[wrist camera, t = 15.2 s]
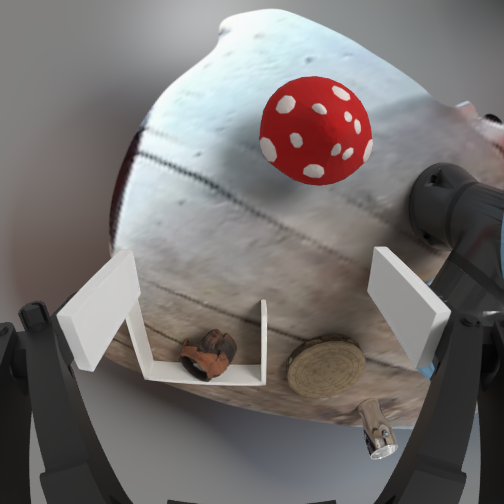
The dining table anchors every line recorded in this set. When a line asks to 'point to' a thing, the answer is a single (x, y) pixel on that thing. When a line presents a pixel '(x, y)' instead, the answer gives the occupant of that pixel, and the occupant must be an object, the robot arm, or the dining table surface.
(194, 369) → the pottery mug
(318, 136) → the decorative mushroom
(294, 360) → the wood slice
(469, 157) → the dining table surface
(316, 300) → the dining table surface
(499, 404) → the robot arm
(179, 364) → the bin
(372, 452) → the beer glass
